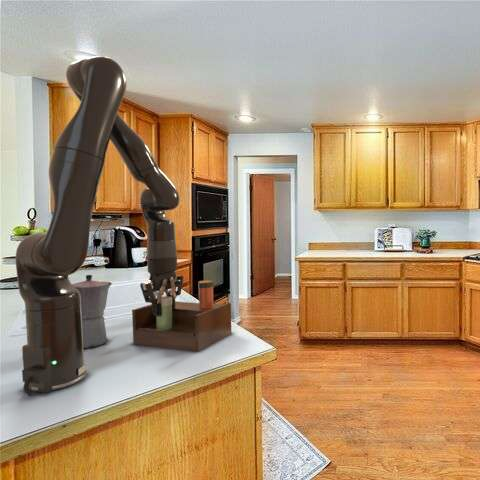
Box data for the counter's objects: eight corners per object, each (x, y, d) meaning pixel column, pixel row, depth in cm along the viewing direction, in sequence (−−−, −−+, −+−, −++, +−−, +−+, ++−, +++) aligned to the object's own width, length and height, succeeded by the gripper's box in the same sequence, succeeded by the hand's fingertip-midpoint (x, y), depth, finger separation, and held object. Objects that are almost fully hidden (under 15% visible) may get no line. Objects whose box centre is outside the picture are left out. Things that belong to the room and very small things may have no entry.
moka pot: (124, 337, 107) (121, 272, 105) (70, 357, 92) (66, 281, 90) (100, 334, 109) (97, 270, 108) (44, 353, 94) (40, 279, 93)
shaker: (164, 331, 100) (164, 300, 100) (152, 329, 102) (151, 299, 101) (176, 326, 105) (175, 296, 104) (164, 325, 106) (163, 295, 105)
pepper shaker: (207, 309, 105) (207, 283, 105) (195, 308, 106) (195, 282, 106) (216, 306, 109) (216, 280, 109) (205, 305, 110) (204, 280, 110)
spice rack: (198, 351, 96) (197, 315, 95) (133, 343, 101) (132, 309, 101) (231, 333, 111) (230, 302, 110) (172, 327, 116) (171, 298, 115)
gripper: (170, 252, 109) (172, 306, 111) (130, 257, 95) (132, 319, 97) (190, 253, 107) (192, 308, 109) (152, 258, 94) (155, 321, 95)
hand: (164, 313), depth 103 cm, fingers closed on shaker, 4 cm apart
